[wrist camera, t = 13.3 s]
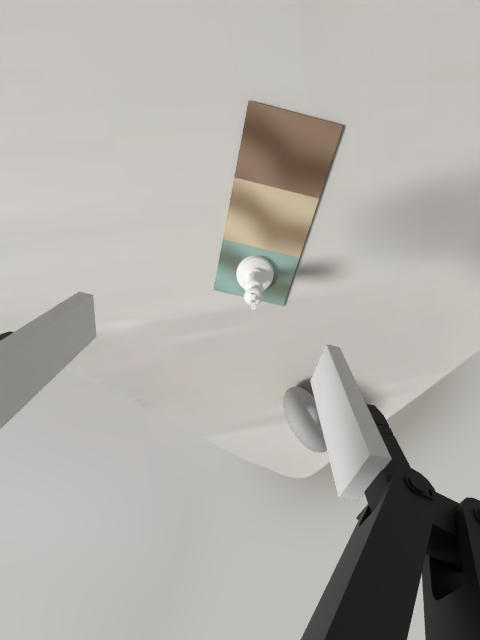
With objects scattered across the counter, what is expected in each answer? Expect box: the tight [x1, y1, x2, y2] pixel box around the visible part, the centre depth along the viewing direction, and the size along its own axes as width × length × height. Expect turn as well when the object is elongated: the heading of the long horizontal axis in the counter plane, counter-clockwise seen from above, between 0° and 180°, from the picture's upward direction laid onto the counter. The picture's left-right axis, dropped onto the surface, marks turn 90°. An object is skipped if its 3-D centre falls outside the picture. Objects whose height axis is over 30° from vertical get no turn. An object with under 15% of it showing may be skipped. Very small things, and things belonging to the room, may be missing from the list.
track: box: [214, 101, 343, 306], centre depth 32 cm, size 21×10×1 cm, turn 168°
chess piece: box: [236, 256, 274, 310], centre depth 30 cm, size 5×5×10 cm
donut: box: [283, 387, 327, 453], centre depth 40 cm, size 10×4×10 cm, turn 43°
